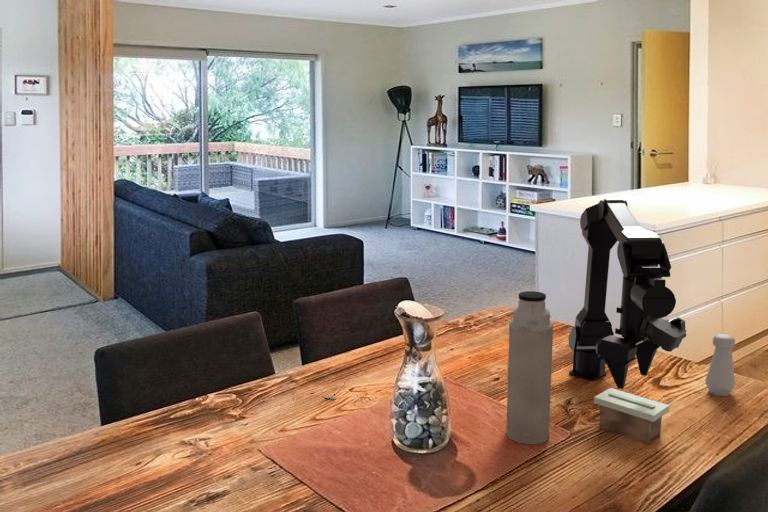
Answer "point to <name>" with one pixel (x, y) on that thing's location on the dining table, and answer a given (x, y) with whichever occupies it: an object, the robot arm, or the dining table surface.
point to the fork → (328, 397)
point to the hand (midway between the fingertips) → (632, 381)
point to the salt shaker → (721, 366)
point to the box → (629, 425)
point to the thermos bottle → (529, 370)
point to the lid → (632, 404)
